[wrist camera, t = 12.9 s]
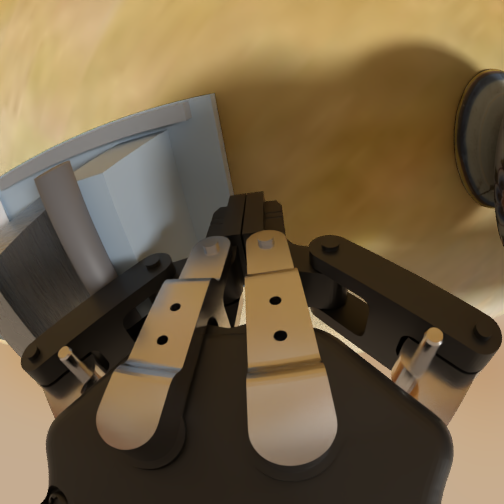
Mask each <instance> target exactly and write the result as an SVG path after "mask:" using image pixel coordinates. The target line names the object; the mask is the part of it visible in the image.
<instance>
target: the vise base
mask: <svg viewBox="0 0 504 504" xmlns="http://www.w3.org/2000/svg"><path fill="white" fill-rule="evenodd" d="M167 129H168V133H169V137H170V141H171V145H172V150H173V153H174V157H175V161H176V165H177V169H178V173H179V177H180V180H181V184H182V188H183V192H184V195H185V199H186V202H187V206H188V210H189V213H190V217H191V220H192V224H193V227H194V230H195V234H196V237H197V241H198V242H199V241H200V240H202V239H205V238H206V235H207V232H208V229H209V226H210V223H211V221H212V217H213V214H214V212H215V211H216V210H218V209H219V208H220V207H226V206H227V205H228V201H229V197H230V195H234V192H233V187H232V182H231V177H230V172H229V167H228V162H227V156H226V151H225V146H224V141H223V136H222V130H221V125H220V120H219V115H218V109H217V104H216V99H215V94H214V93H212V94H207V95H203V96H198V97H193V98H189V99H185V100H181V101H177V102H173V103H169V104H165V105H162V106H158V107H155V108H151V109H148V110H145V111H142V112H138V113H135V114H132V115H129V116H126V117H123V118H121V119H118V120H115V121H112V122H110V123H107V124H104V125H102V126H99V127H97V128H94V129H92V130H89V131H87V132H84V133H82V134H80V135H77V136H75V137H73V138H71V139H69V140H66V141H64V142H62V143H60V144H58V145H56V146H54V147H52V148H50V149H48V150H46V151H44V152H42V153H40V154H38V155H36V156H34V157H33V158H31V159H29V160H27V161H25V162H24V163H22V164H20V165H18V166H17V167H15V168H13V169H12V170H10V171H9V172H7V173H5V174H4V175H2V176H1V177H0V231H1V230H2V229H3V228H4V227H5V226H6V225H7V224H9V223H10V222H11V221H12V220H13V219H14V218H15V217H16V216H17V215H19V214H20V213H21V212H22V211H23V210H24V209H26V208H27V207H28V206H29V205H30V204H32V203H33V202H34V201H35V200H37V199H38V198H39V197H40V194H39V192H38V189H37V187H36V184H35V181H34V179H35V178H36V177H38V176H39V175H41V174H42V173H44V172H46V171H47V170H49V169H51V168H53V167H55V166H57V165H59V164H61V163H63V162H66V161H70V163H71V166H72V169H73V172H75V171H76V170H78V169H79V168H81V167H82V166H84V165H85V164H87V163H88V162H90V161H91V160H93V159H94V158H96V157H98V156H99V155H101V154H103V153H104V152H106V151H107V150H109V149H111V148H113V147H114V146H116V145H118V144H119V143H122V142H125V141H128V140H131V139H135V138H138V137H141V136H145V135H148V134H152V133H156V132H160V131H163V130H167ZM243 287H245V285H244V286H243ZM0 339H3V340H5V339H4V338H3V337H2V336H1V335H0Z"/></svg>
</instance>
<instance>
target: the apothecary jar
mask: <svg viewBox="0 0 504 504" xmlns="http://www.w3.org/2000/svg"><path fill="white" fill-rule="evenodd" d="M454 145H455V157H456V163H457V167H458V171H459V174H460V177H461V180H462V182H463V185H464V187H465V189H466V190H467V192H468V193H469V195H470V196H471V197H472V199H474V200H475V201H476V202H477V203H479V204H480V205H482V206H484V207H487V208H495V213H496V221H497V226H498V231H499V235H500V238H501V241H502V244H503V246H504V71H501V70H496V69H491V70H485V71H483V72H481V73H479V74H477V75H476V76H475V77H474V78H473V79H472V80H471V81H470V82H469V84H468V85H467V87H466V88H465V90H464V93H463V95H462V98H461V101H460V103H459V107H458V110H457V115H456V121H455V132H454Z"/></svg>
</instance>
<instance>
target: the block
mask: <svg viewBox="0 0 504 504" xmlns="http://www.w3.org/2000/svg"><path fill="white" fill-rule="evenodd" d="M89 297H91V295H90V294H89V292H88V291H87V289H86V287H85V286H84V284H83V282H82V280H81V279H80V277H79V275H78V274H77V272H76V270H75V268H74V266H73V265H72V263H71V261H70V259H69V257H68V255H67V253H66V251H65V249H64V247H63V246H62V244H61V242H60V240H59V237H58V235H57V233H56V231H55V229H54V227H53V225H52V223H51V220H50V218H49V216H48V214H47V211H46V209H45V207H44V204H43V202H42V199H41V197H39V198H38V199H37V200H35V201H34V202H33V203H32V204H30V205H29V206H28V207H27V208H26V209H24V210H23V211H22V212H21V213H20V214H19V215H17V216H16V217H15V218H14V219H13V220H12V221H11V222H10V223H9V224H7V225H6V226H5V227H4V228H3V229H2V230H1V231H0V335H1V336H2V337H3V338H4V339H5V340H6V342H7V343H8V344H9V345H10V346H11V347H12V348H13V350H14V351H15V352H16V353H17V354H18V355H19V356H20V357H21V358H22V354H23V352H24V351H25V349H26V348H27V346H28V345H29V344H30V343H32V342H33V341H34V340H35V339H36V338H38V337H39V336H40V335H41V334H43V333H44V332H45V331H46V330H48V329H49V328H50V327H51V326H53V325H54V324H55V323H56V322H58V321H59V320H60V319H62V318H63V317H64V316H65V315H67V314H68V313H69V312H71V311H72V310H73V309H75V308H76V307H77V306H79V305H80V304H81V303H82V302H84V301H85V300H87V299H88V298H89Z"/></svg>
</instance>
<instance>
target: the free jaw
mask: <svg viewBox="0 0 504 504" xmlns="http://www.w3.org/2000/svg"><path fill="white" fill-rule="evenodd" d="M34 181H35V184H36V187H37V189H38V192H39V194H40V197H41V199H42V202H43V204H44V207H45V209H46V211H47V214H48V216H49V218H50V220H51V223H52V225H53V227H54V229H55V231H56V233H57V235H58V237H59V240H60V242H61V244H62V246H63V247H64V249H65V251H66V253H67V255H68V257H69V259H70V261H71V263H72V265H73V266H74V268H75V270H76V272H77V274H78V275H79V277H80V279H81V280H82V282H83V284H84V286H85V287H86V289H87V291H88V292H89V294H90V295H91V296H92V295H93V294H95V293H96V292H97V291H99V290H100V289H101V288H103V287H104V286H106V285H107V284H108V283H110V282H111V281H113V280H114V279H115V278H117V277H118V276H120V275H121V274H122V273H124V272H125V271H127V270H128V269H130V268H131V267H132V266H134V265H135V264H137V263H138V262H140V261H141V260H143V259H144V258H146V257H148V256H150V255H152V254H155V253H166V254H169V255H170V256H171V259H172V262H176V261H179V260H182V259H185V258H188V257H189V255H190V253H191V251H192V249H193V247H194V245H195V244H196V243H197V242H198V241H197V237H196V234H195V230H194V227H193V224H192V220H191V217H190V213H189V210H188V206H187V202H186V199H185V195H184V192H183V188H182V184H181V180H180V177H179V173H178V169H177V165H176V161H175V157H174V153H173V150H172V145H171V141H170V137H169V133H168V129H167V130H163V131H160V132H156V133H152V134H148V135H145V136H141V137H138V138H135V139H131V140H128V141H125V142H122V143H119V144H118V145H116V146H114V147H113V148H111V149H109V150H107V151H106V152H104V153H103V154H101V155H99V156H98V157H96V158H94V159H93V160H91V161H90V162H88V163H87V164H85V165H84V166H82V167H81V168H79V169H78V170H76V171H75V172H73V169H72V166H71V163H70V161H66V162H63V163H61V164H59V165H57V166H55V167H53V168H51V169H49V170H47V171H46V172H44V173H42V174H41V175H39V176H38V177H36V178H35V179H34ZM151 307H152V303H151V301H150V299H149V297H148V298H147V299H146V300H144V301H143V302H142V303H140V304H139V305H138V306H137V307H135V308H134V309H133V310H131V311H130V312H129V313H127V314H126V315H125V317H124V319H123V326H124V328H125V329H129V328H131V327H132V326H133V325H135V324H136V323H137V322H138V321H140V320H141V319H142V318H143V317H145V316H146V315H147V314H149V312H150V310H151Z"/></svg>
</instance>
